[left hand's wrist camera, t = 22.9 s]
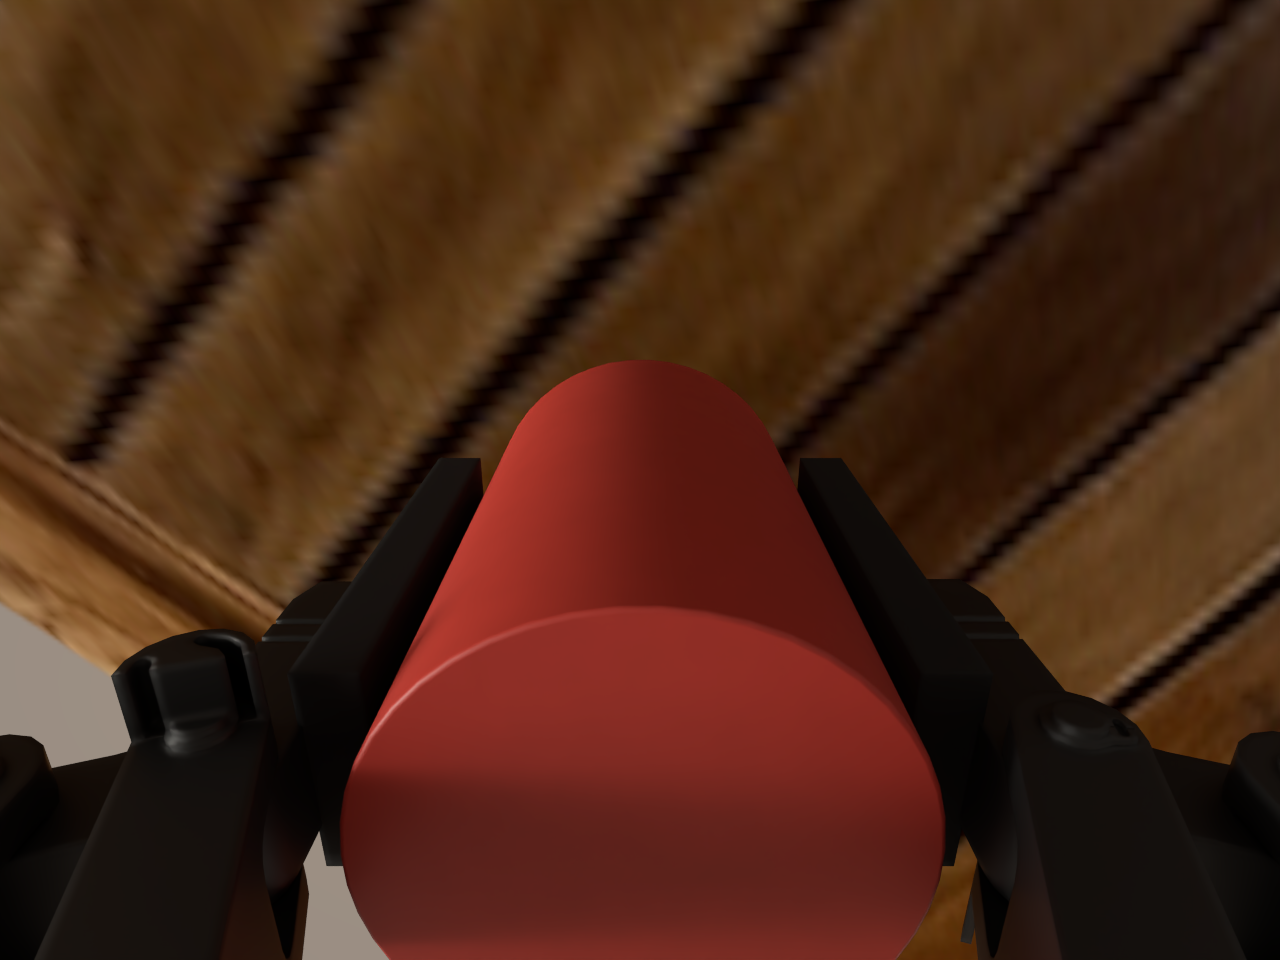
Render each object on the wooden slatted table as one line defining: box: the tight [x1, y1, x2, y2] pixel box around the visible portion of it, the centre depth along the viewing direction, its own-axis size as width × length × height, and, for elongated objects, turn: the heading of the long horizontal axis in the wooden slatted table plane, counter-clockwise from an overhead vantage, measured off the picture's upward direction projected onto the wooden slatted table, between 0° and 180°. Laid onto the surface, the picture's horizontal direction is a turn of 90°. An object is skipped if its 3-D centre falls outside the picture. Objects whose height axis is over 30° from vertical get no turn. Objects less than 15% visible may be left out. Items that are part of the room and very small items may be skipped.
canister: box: [340, 360, 946, 960], centre depth 12 cm, size 6×6×9 cm
